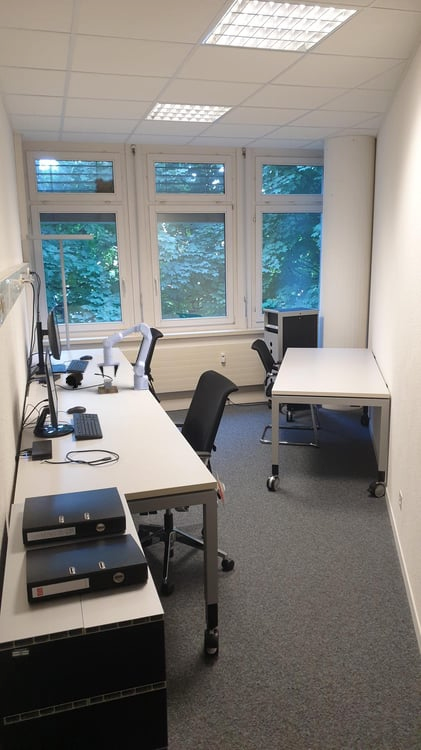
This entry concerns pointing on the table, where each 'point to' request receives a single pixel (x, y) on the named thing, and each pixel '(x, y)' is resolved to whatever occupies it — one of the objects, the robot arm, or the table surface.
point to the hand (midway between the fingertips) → (109, 377)
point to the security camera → (74, 379)
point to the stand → (107, 390)
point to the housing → (107, 384)
